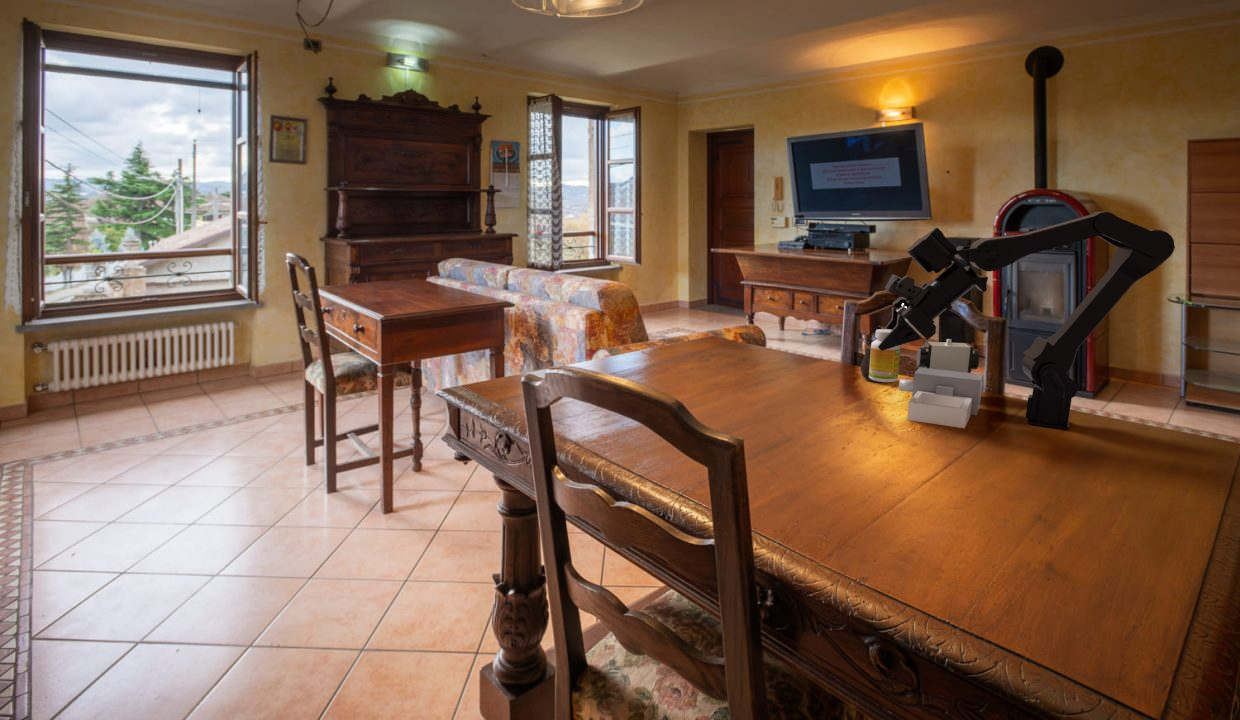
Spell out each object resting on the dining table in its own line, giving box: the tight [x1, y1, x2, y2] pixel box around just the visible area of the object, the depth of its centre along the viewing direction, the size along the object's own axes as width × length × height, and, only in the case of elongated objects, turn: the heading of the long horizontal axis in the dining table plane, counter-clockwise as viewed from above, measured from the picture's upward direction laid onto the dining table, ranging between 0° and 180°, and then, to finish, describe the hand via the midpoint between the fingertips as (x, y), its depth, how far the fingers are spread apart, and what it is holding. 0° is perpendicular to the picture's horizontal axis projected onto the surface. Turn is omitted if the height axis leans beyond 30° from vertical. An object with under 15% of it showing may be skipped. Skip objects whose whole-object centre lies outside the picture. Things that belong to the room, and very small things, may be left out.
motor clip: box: [898, 367, 984, 429], centre depth 138 cm, size 15×16×7 cm
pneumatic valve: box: [916, 338, 980, 373], centre depth 153 cm, size 6×12×12 cm, turn 77°
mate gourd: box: [860, 344, 881, 383], centre depth 164 cm, size 7×8×10 cm
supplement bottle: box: [869, 328, 901, 383], centre depth 137 cm, size 5×5×10 cm
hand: (878, 346), depth 137 cm, fingers closed on supplement bottle, 5 cm apart
